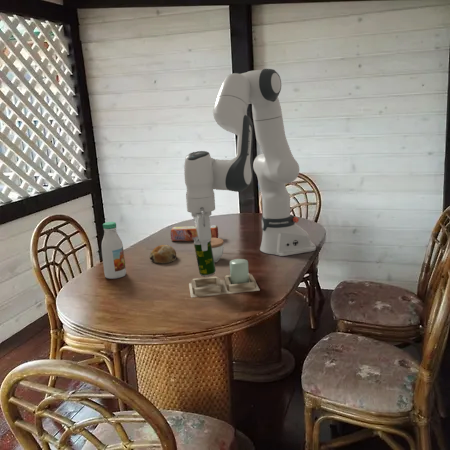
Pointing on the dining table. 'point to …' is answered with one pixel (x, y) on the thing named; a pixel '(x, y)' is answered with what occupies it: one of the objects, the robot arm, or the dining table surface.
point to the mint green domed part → (239, 271)
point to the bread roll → (163, 254)
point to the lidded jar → (217, 248)
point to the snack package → (190, 233)
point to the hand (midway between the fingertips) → (203, 247)
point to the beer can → (204, 259)
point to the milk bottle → (112, 252)
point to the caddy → (220, 286)
